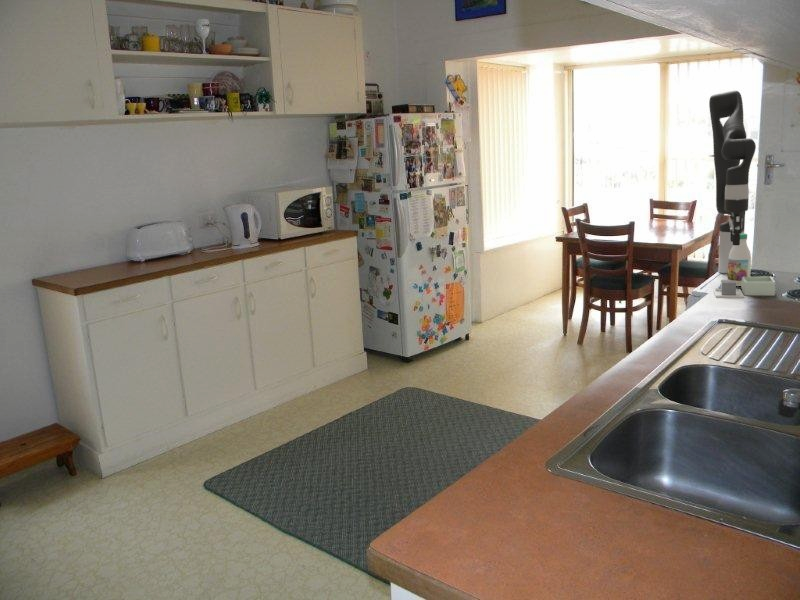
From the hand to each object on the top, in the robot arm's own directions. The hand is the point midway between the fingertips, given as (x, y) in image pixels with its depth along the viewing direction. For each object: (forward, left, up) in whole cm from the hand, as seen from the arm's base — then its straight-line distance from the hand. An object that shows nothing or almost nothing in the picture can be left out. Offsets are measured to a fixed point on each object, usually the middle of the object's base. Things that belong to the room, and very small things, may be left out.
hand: (734, 243), depth 246 cm
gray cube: (0, -2, -19) cm, 19 cm away
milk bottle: (-16, +4, -19) cm, 25 cm away
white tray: (0, -2, -19) cm, 19 cm away
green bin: (-3, +8, -19) cm, 21 cm away
